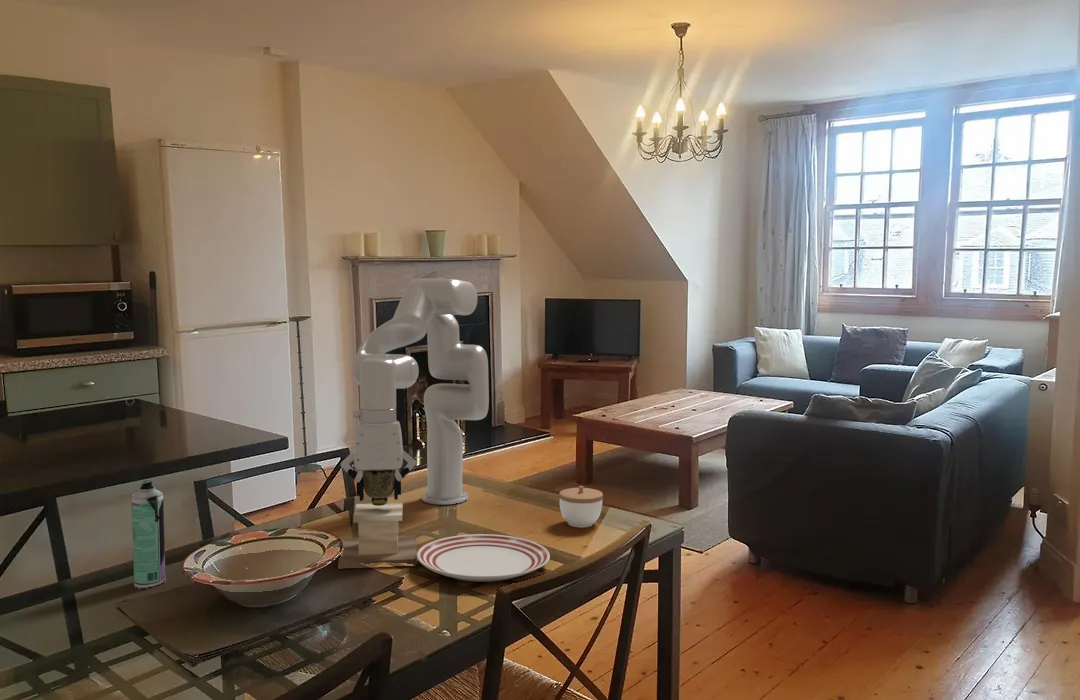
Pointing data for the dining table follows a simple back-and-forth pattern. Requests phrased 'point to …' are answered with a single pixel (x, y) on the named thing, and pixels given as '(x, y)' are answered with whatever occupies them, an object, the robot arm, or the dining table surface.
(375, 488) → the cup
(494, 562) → the dinner plate
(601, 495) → the lidded jar
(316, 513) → the dining table surface
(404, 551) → the cream pedestal stand
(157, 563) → the spray can
